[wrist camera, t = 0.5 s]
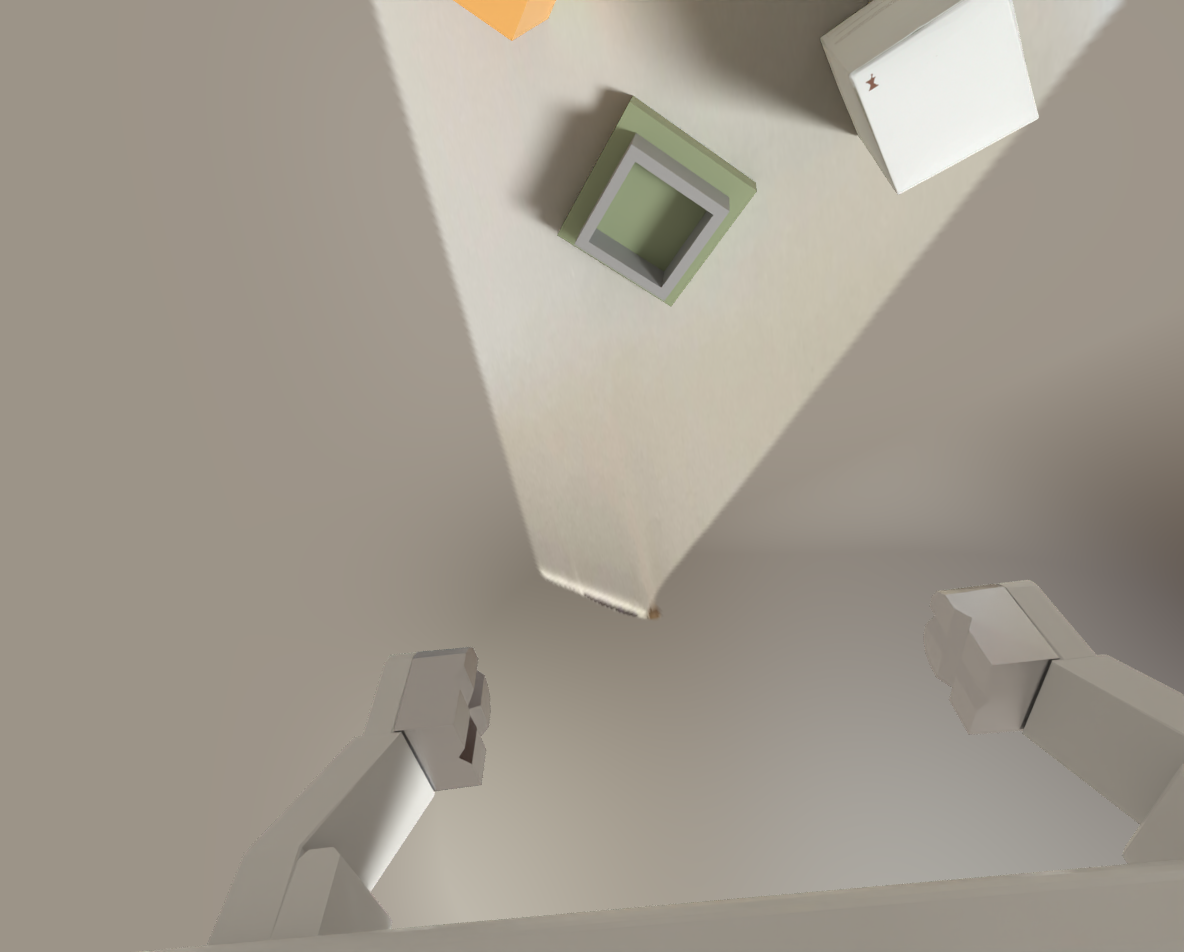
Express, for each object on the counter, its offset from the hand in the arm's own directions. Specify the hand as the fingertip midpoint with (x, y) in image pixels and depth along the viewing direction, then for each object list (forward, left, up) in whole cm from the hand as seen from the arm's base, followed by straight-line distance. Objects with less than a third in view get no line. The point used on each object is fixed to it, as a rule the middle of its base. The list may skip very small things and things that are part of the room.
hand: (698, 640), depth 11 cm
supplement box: (-10, +6, -45) cm, 47 cm away
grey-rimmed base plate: (+8, +3, -45) cm, 46 cm away
